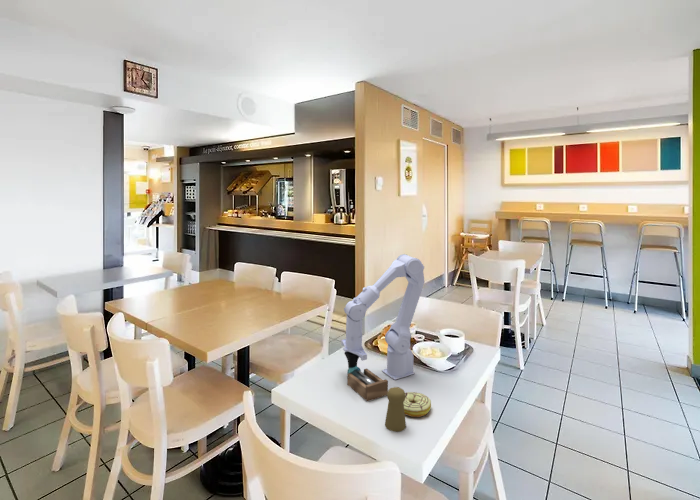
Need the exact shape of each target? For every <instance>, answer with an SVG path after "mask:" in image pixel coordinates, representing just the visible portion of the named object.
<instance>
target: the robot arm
mask: <svg viewBox="0 0 700 500" xmlns="http://www.w3.org/2000/svg"><path fill="white" fill-rule="evenodd" d="M424 269H425V266H424V263H422V260H420V259H419V258H418V257H413V256H411V255H408V254H405V253H404V254H400V255H399V256H398V257H397V258H396V259H393V261H392V263H391V264H390V266H389V267H388V268H387V269H386V270H385V272H383V274H382V275H380V277H378V279H377V280H376V281H375V282H374V284H373V285H367V286H364V287H363V288H362V291H361V292H360V293H359V294H358V295H357V296H356V297H353V299H352V300H350V301H348V302H347V303H346V304H345V306H344V308H343V311H344V313H345V314H346V318H345V319H346V321H345V339H341V341H340V344H341V346H344V347H342V350H343V352H344V356H345V358H346V360H347V367H348V368H349V367H350V368H351V367H352V366H357V367H358V360H359V358H360V360H361V361H363V362H364V361H366V360H367V359H368V354H367V353H366V351H365V349H364V347H363V319H364V318H365V317H366V313H367V311H368V310H369V308H370V307H371V306H372V305H373V304H374V303H376V302H377V301H378V300H379V298H380V296H381V295H380V294H381V292H382V291H383V290H384V289H385V288H386V287H387V286H388V285H390V284H391V283H393V281H395V280H396V279H397V278H405V279H406V280H407V282H408V283H407V286H406V287H405V288H406V289H405V292H404V295H403V299H402V301H401V304H400V307H399V310H398V312H397V313H398V314H397V317H396V320H395V322H394V323H392V324H391V325H390V328H389V330H387V331H386V333H385V336H384V340H385V342H386V344H387V348H386V349H387V351H386V352H387V353H386V354H387V355H386V368H384V369H381V372H382V373H383V374H385V375H387V376H388V377H390V378H391V379H393V380H395V381H396V380H398V379H399V380H400V379H402V378H405V377H409V376H412V375H414V374H415V371H414V361H415V360H414V358H415V357H414V352H413V351H412V349H411V338H412V334H411V329H410V328H411V324H412V323H413V322H412V321H413V319H414V315H415V312H416V309H417V306H418V303H419V300H420V297H421V294H422V291H423V288H424V286H425V285H424V284H425V273H424ZM348 368H347V369H348Z"/></svg>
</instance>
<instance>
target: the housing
mask: <svg viewBox="0 0 700 500" xmlns="http://www.w3.org/2000/svg"><path fill="white" fill-rule="evenodd" d="M363 374H365V375H366V376H367V377H369V378H370V379H371V380H373V381H374V382H375V383H372V384H369V385H365V384H364V383H363V382H361V381H360V380H359V379H357V378H356V377H355V376H354V375H352V374H351V373H349V374H347V376H346V377H347V382H346V383H347V386H349V388H351V389H352V390H353V391H354V392H355V393H357V395H359V396H360V397H362V398H363V399H364V400H365V401H366V402H367V403H368V402H371V401H374V400H377V399H379V398H384V397H387V392H388V390H389V389H388V388H389V381H388V380H387V379H386V378H385V379H382V378H381V377H379V376H378V375H377V374H376V373H373V372H372V371H371V370H370V369H368V368H364V369H363Z"/></svg>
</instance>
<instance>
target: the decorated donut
mask: <svg viewBox="0 0 700 500" xmlns="http://www.w3.org/2000/svg"><path fill="white" fill-rule="evenodd" d="M405 395H406V397H405V400H404V402H403V403H404V412H405V416H409V417H412V418H417V417H423V416H426V415H427V414H428V413H429V412H430V410H431V408H432V401H431V399H430V398H429V396H427V395H425V394H424V393H421V392H417V391H414V392H413V391H410V392H409V391H408V392H406V391H405Z"/></svg>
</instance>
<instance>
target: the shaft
mask: <svg viewBox="0 0 700 500" xmlns="http://www.w3.org/2000/svg"><path fill="white" fill-rule="evenodd" d="M346 372H347V374H349V373H351V374H352V375H354V376H355V377H356V378H357V379H359V380H360V381H361V382H363V383H364V384H365V385H369V384H372V383H375V382H374V381H373V380H371V379H370V378H369V377H367V376H366V375H365V374H364V372H362V370H361V368H360V367H359V366H358V365H357V366H352V367H351V368H350V367H349V368H347V371H346Z"/></svg>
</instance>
